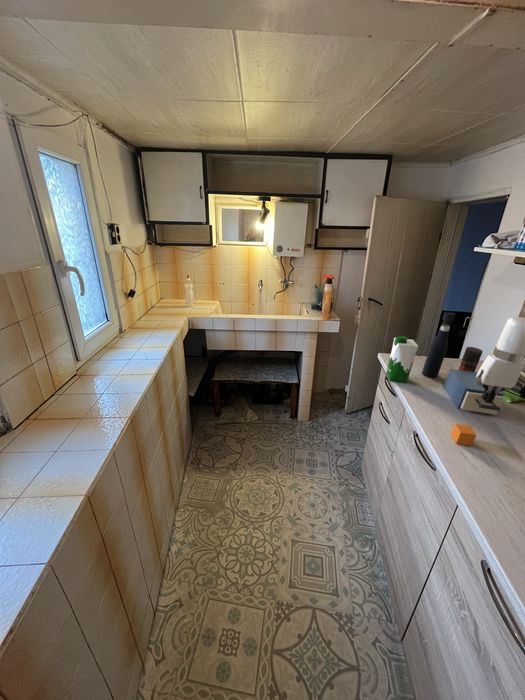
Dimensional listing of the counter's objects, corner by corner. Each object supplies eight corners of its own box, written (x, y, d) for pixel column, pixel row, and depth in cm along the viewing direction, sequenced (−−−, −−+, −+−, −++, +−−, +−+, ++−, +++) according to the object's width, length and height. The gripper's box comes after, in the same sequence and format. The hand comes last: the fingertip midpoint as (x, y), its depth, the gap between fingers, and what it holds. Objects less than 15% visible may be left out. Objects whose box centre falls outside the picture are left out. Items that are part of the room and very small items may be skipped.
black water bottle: (420, 375, 130) (440, 313, 117) (422, 370, 135) (442, 309, 122) (436, 380, 127) (458, 316, 114) (437, 374, 131) (459, 312, 119)
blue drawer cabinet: (494, 414, 105) (504, 393, 101) (457, 408, 107) (465, 388, 103) (476, 391, 119) (483, 373, 115) (443, 387, 121) (450, 368, 117)
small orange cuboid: (465, 436, 93) (470, 425, 91) (471, 446, 89) (476, 435, 87) (450, 434, 94) (455, 423, 92) (455, 443, 90) (460, 432, 88)
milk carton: (383, 372, 131) (393, 332, 123) (404, 374, 130) (415, 334, 121) (387, 382, 123) (399, 340, 115) (409, 384, 122) (422, 342, 114)
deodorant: (453, 375, 131) (463, 346, 125) (467, 377, 130) (478, 347, 124) (458, 381, 126) (470, 351, 120) (473, 383, 125) (485, 353, 118)
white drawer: (502, 422, 99) (511, 405, 96) (466, 417, 101) (474, 400, 98) (478, 393, 116) (484, 378, 113) (447, 389, 118) (453, 374, 115)
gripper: (526, 353, 94) (504, 398, 102) (477, 347, 97) (459, 392, 105) (541, 363, 88) (516, 411, 95) (487, 356, 90) (467, 403, 98)
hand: (486, 401), depth 100 cm, fingers closed
